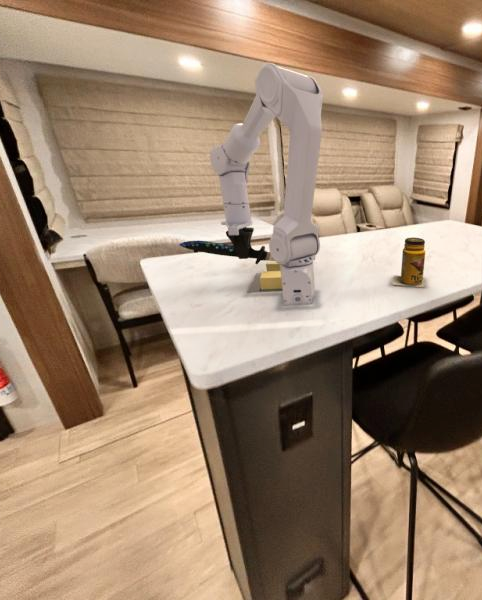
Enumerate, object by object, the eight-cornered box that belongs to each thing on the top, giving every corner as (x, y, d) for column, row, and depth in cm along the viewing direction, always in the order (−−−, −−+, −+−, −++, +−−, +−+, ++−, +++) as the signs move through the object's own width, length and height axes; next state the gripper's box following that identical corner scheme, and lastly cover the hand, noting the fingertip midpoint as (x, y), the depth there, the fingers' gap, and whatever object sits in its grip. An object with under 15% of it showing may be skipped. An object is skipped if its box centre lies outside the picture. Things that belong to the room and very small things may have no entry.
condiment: (423, 287, 82) (428, 243, 77) (392, 285, 83) (394, 241, 78) (423, 278, 89) (427, 237, 84) (394, 276, 89) (396, 235, 84)
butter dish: (299, 293, 75) (299, 290, 75) (247, 295, 73) (246, 292, 72) (301, 274, 88) (301, 272, 87) (256, 276, 85) (256, 273, 85)
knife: (306, 267, 85) (307, 251, 83) (305, 270, 82) (306, 253, 81) (185, 252, 80) (184, 235, 78) (179, 255, 77) (178, 237, 75)
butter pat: (290, 274, 85) (289, 263, 84) (267, 274, 84) (265, 264, 83) (290, 271, 87) (289, 261, 86) (268, 272, 86) (266, 262, 85)
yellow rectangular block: (287, 288, 75) (286, 277, 74) (261, 289, 74) (259, 277, 73) (288, 281, 80) (287, 270, 79) (264, 282, 79) (262, 271, 77)
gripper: (225, 199, 80) (234, 250, 86) (209, 206, 67) (220, 266, 73) (254, 200, 82) (260, 250, 87) (243, 206, 69) (251, 265, 74)
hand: (244, 257), depth 80 cm, fingers closed on knife
